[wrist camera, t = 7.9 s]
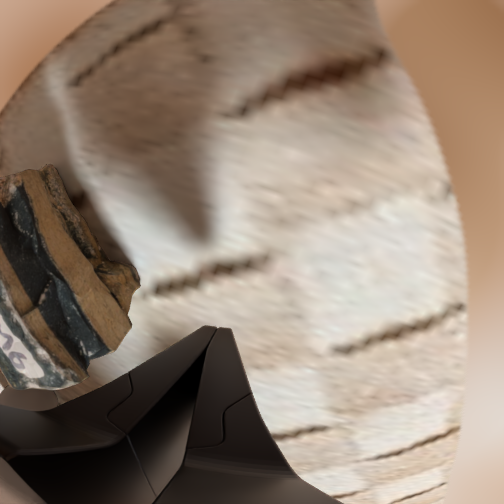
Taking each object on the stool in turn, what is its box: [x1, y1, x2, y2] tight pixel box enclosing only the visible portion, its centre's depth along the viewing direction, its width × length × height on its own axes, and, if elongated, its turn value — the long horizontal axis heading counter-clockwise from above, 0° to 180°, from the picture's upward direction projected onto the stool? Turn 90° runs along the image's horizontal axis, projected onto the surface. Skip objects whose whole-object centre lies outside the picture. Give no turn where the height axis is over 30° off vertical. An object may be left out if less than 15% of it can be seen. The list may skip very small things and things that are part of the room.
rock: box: [0, 164, 141, 390], centre depth 10 cm, size 9×9×6 cm
